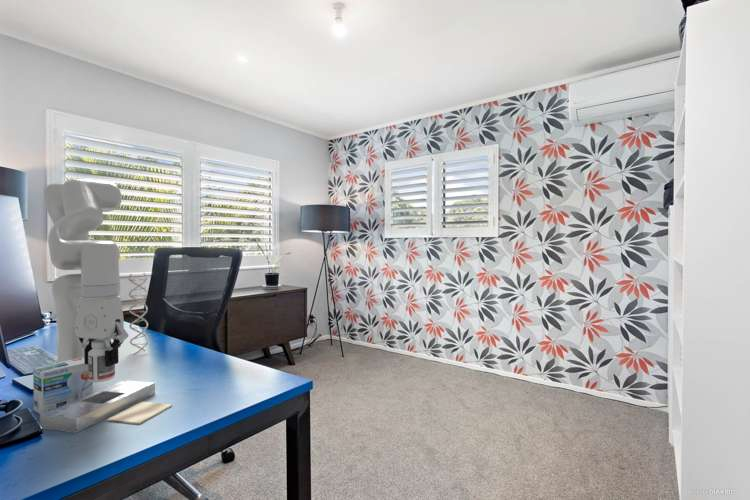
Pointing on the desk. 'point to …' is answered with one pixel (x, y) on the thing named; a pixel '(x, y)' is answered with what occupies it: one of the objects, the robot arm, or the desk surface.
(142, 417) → the wooden pad
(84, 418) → the white slotted slab
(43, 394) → the light bulb box
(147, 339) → the dna model
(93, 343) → the pill bottle
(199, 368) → the desk surface
